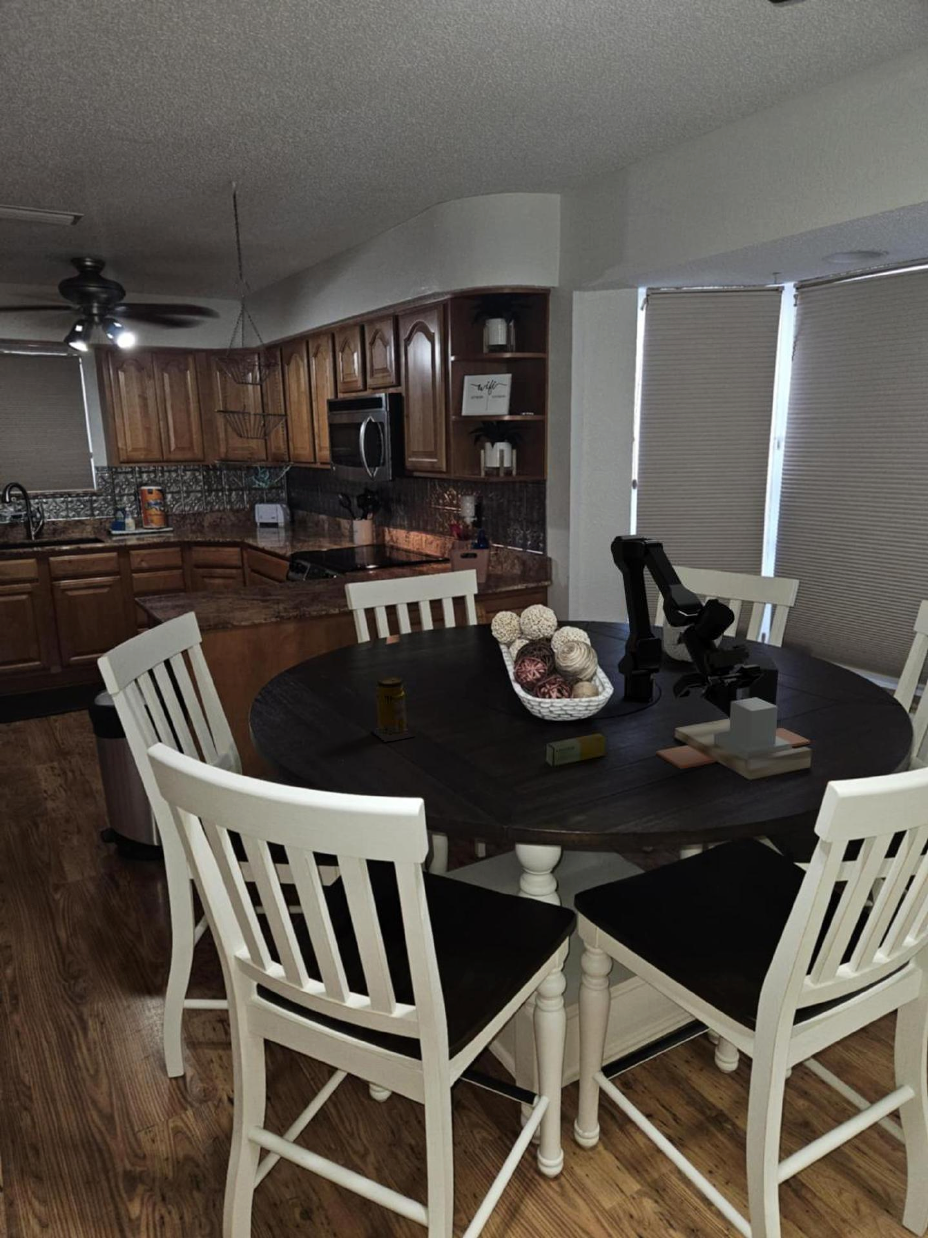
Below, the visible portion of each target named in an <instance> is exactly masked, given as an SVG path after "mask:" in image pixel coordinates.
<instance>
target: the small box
mask: <svg viewBox="0 0 928 1238" xmlns="http://www.w3.org/2000/svg"><path fill="white" fill-rule="evenodd" d="M744 662H745V663H744V664H743V666H746V665H753V664H756V665H758V666H760V668H761V670H762V672H763V674H764V675H763V676H762V677H761V678H759V679H758V680H757V681H756V682H755V683H754V684H753V685H752V686H750V687H748V688H742V689H741V700H743V699H749V698H755V697H756V698H759V699H761V700H764V701H766V702H768V703H771V704H773V705H775V706H777V705H776V704H777V693H778V682H779V681H778V680H779V668H778V666H777V665H776V664H775V662H774V661H773V658H772V657H768V656H767V657H765V656H753V655H752V656H750V655H749V658H748V659H745V660H744Z"/></svg>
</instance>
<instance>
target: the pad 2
mask: <svg viewBox="0 0 928 1238" xmlns="http://www.w3.org/2000/svg"><path fill="white" fill-rule="evenodd" d="M776 736H777V737H779V738H782V739H784V740H786V741H788V742H790V743H791V748H794V747H798V746H804V745H810V744H811V740H810V739H807V738H805V737H803V736H802V735H798V733H797V734H796V733H795V732H792V731H790V730H787V729H785V728H783V727H778V728H776Z"/></svg>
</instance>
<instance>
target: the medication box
mask: <svg viewBox="0 0 928 1238" xmlns="http://www.w3.org/2000/svg"><path fill="white" fill-rule="evenodd" d="M606 740H607V738H606V737H605V736H604V735H602V734H601V733H594V734H590V735H589V734H588V735H584V736H579V737H574V738H569V739H564V740H559V741H553V742H548V743H546V758H545V759H546V760H545V761H546V763H547V764H548V765H550V766H551V767H553V766H560V765H564V764H569V763H574V762H578V761H583V760H589V759H593V758H597V757H602V756H606V753H605V751H606Z"/></svg>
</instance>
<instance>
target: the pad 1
mask: <svg viewBox="0 0 928 1238" xmlns="http://www.w3.org/2000/svg"><path fill="white" fill-rule="evenodd" d="M656 755H658V756H659V757H660V758H662V759H664V760H665V761H667V762H669V763H670V764H672V765H674V766H675V767H677V768H678V769H680V770H683V769H689V768H692V767H699V766H702V765H707V764H713V763H716V762H717V761H716V759H715V758H713V757H711V756H710V755H708V754H706V753H704V752H702V751H701V750H699V749H697V748H695V747H694V746H692V745H688V744H686V745H682V746H675V747H672V748H668V749H667V748H666V749H662V750H661V749H660V750H657V751H656Z"/></svg>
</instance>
